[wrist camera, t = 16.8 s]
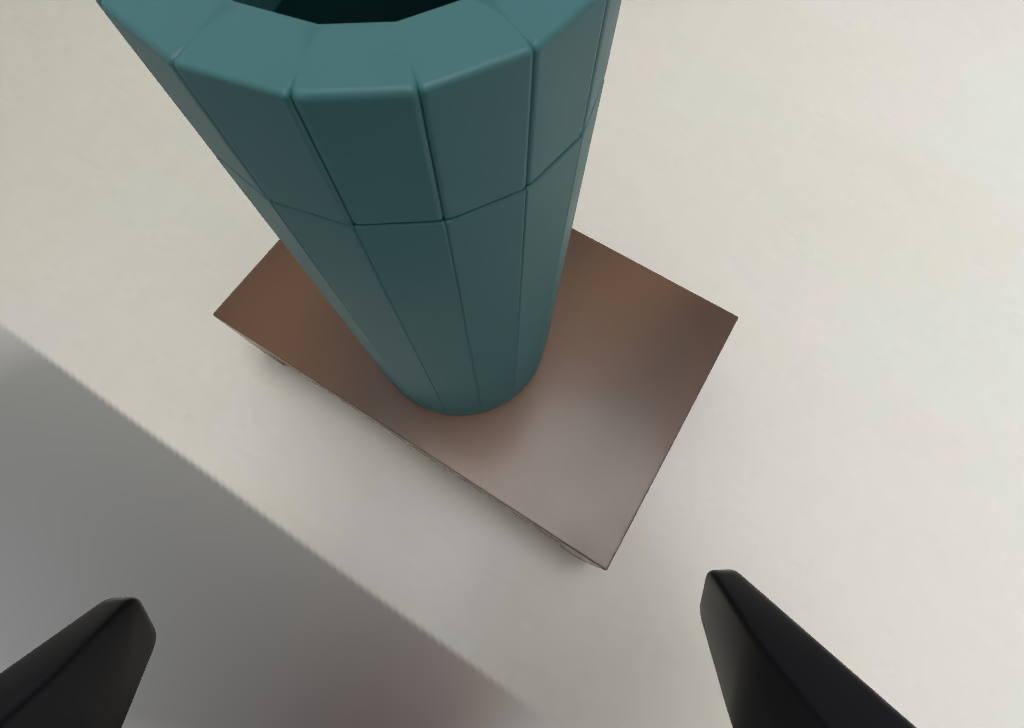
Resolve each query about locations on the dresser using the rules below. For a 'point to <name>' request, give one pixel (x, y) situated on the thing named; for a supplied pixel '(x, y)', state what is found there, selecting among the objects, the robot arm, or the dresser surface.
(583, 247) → the brown wooden pedestal
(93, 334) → the dresser surface
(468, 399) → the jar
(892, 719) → the robot arm
